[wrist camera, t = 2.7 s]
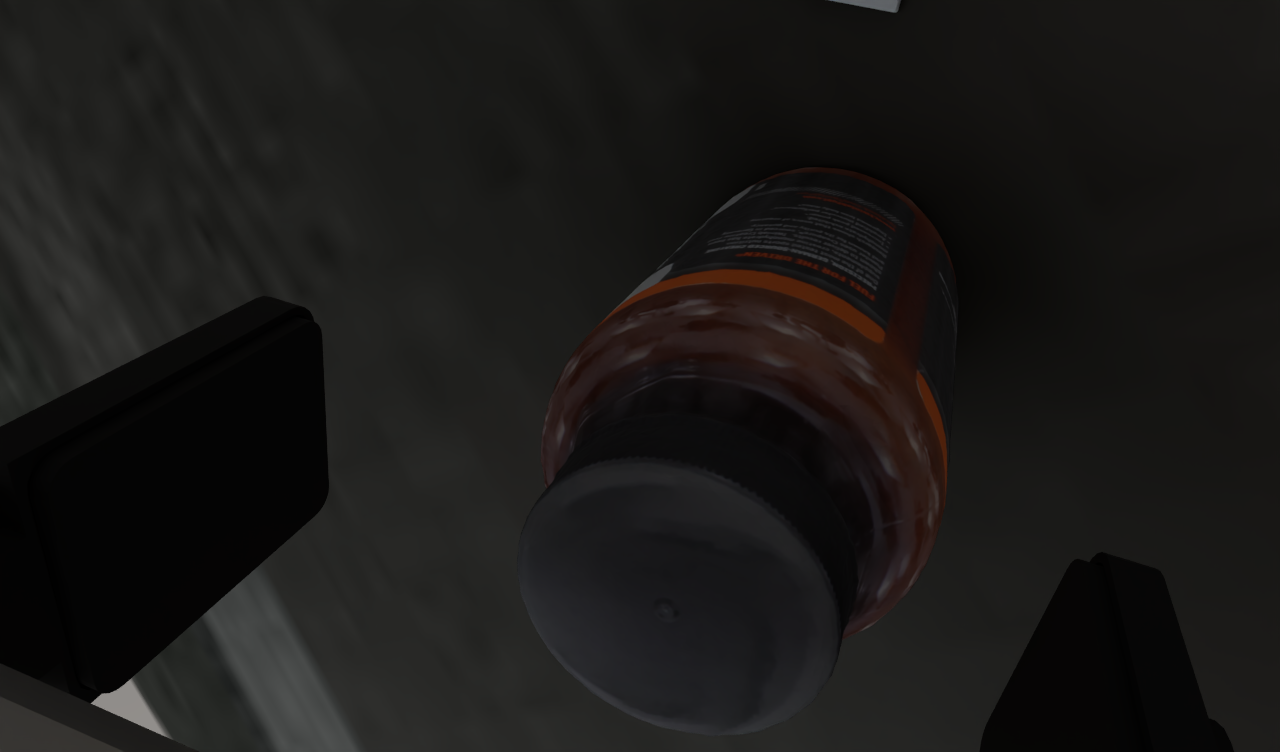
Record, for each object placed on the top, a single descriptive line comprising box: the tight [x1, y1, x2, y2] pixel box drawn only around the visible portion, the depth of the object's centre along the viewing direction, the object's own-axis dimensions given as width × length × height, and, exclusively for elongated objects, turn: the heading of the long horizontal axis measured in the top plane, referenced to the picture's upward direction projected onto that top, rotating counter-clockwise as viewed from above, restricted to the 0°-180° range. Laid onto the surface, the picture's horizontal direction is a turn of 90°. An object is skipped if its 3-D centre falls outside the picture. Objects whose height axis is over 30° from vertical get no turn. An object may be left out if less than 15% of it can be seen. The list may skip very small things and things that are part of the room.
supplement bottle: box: [517, 167, 959, 736], centre depth 15 cm, size 6×6×11 cm
